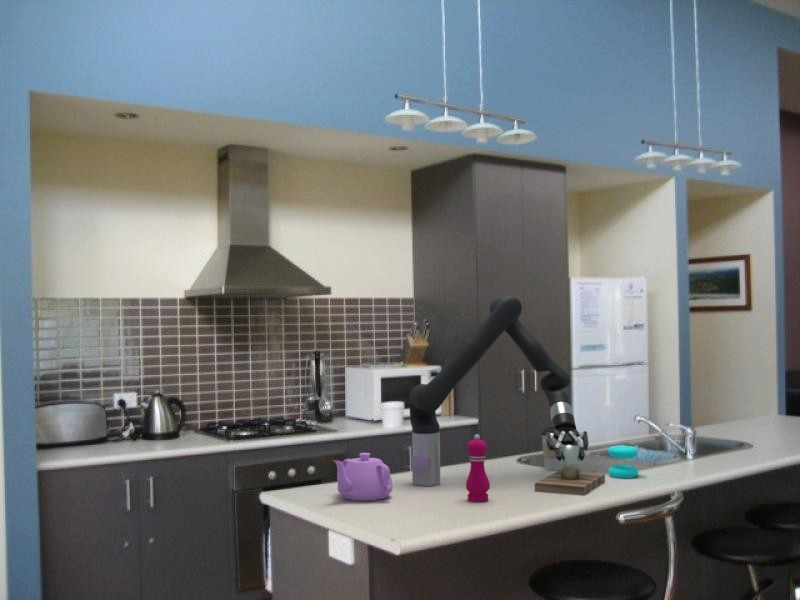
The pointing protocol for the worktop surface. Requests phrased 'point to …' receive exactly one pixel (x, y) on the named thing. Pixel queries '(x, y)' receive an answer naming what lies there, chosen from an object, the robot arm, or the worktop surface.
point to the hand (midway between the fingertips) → (571, 459)
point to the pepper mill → (477, 471)
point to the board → (570, 484)
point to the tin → (570, 461)
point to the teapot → (363, 478)
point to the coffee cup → (550, 453)
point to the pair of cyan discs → (623, 453)
